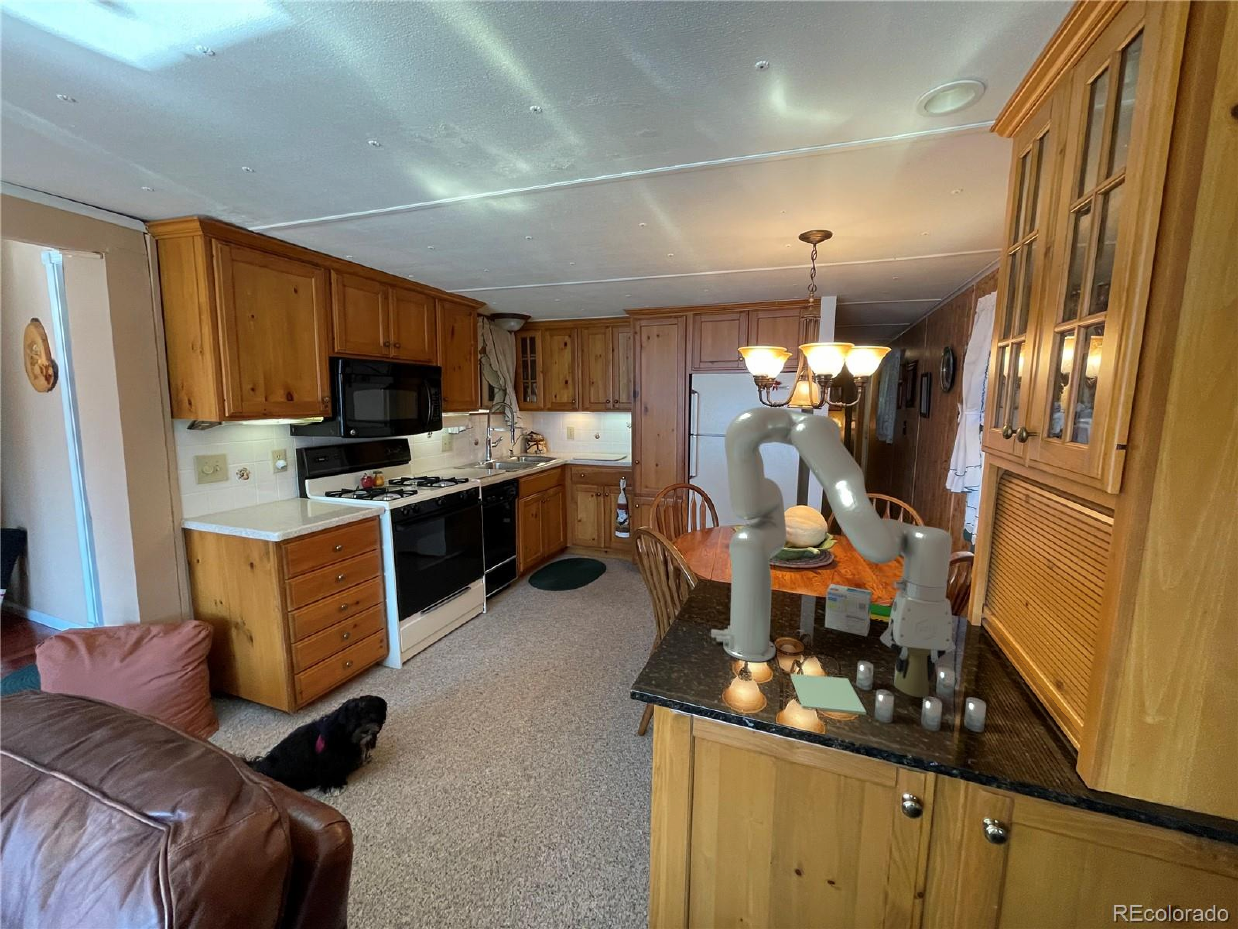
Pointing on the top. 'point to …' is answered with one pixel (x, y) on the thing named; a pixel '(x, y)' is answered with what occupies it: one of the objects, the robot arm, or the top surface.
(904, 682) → the olive rounded piece
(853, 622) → the light bulb box
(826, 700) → the mat
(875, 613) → the dish sponge
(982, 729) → the spacer field
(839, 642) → the top surface
